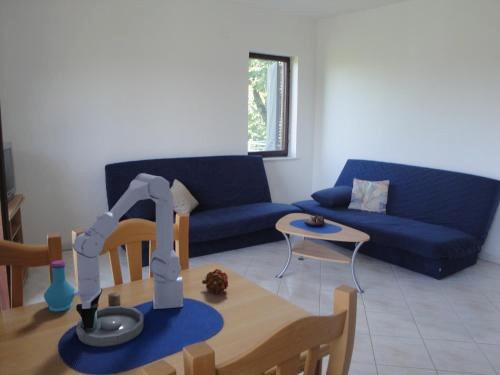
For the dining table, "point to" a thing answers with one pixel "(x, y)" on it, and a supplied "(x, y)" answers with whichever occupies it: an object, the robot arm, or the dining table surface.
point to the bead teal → (93, 325)
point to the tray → (112, 326)
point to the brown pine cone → (216, 281)
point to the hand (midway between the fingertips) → (90, 320)
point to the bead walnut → (114, 299)
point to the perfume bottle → (59, 289)
